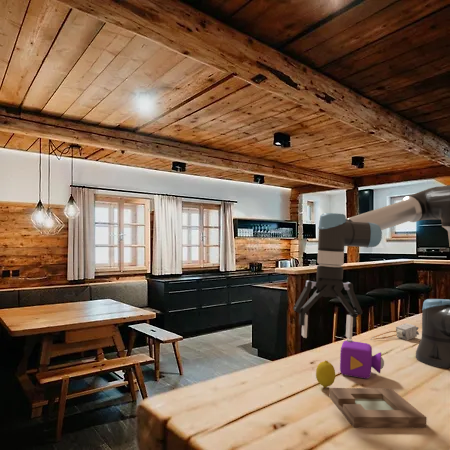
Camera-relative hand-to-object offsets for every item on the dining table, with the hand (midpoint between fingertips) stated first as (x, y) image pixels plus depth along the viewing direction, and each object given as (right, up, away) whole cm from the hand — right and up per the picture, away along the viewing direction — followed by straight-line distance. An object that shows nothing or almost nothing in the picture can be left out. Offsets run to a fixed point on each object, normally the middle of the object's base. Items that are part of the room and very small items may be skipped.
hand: (326, 337), depth 110 cm
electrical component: (+45, -18, +55) cm, 74 cm away
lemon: (-1, -15, 0) cm, 15 cm away
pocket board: (+9, -15, -13) cm, 22 cm away
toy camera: (+14, -16, +12) cm, 25 cm away
